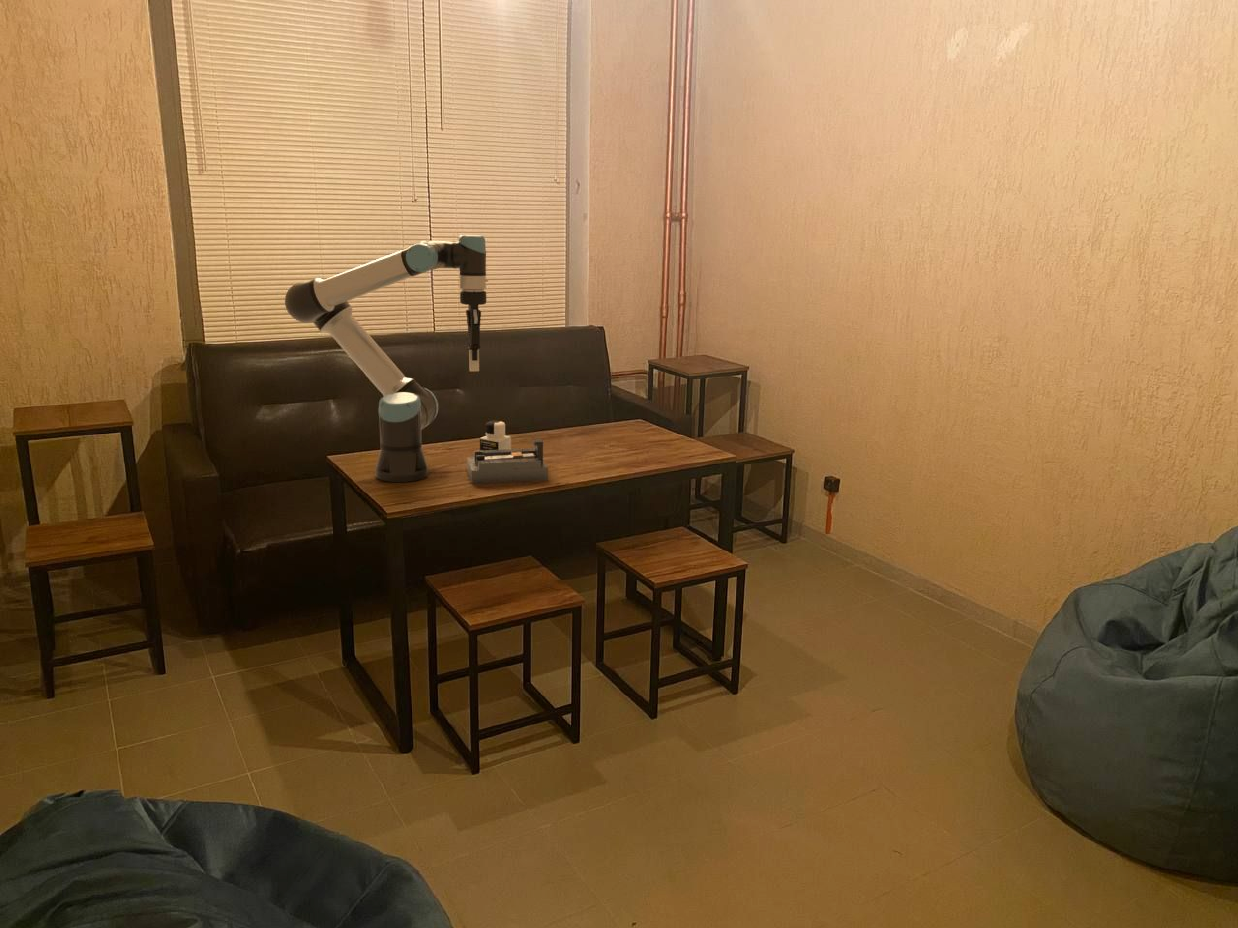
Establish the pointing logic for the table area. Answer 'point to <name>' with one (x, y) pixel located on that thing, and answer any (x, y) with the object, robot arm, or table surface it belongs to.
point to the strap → (511, 456)
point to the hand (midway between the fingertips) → (474, 370)
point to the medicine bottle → (495, 437)
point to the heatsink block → (508, 466)
